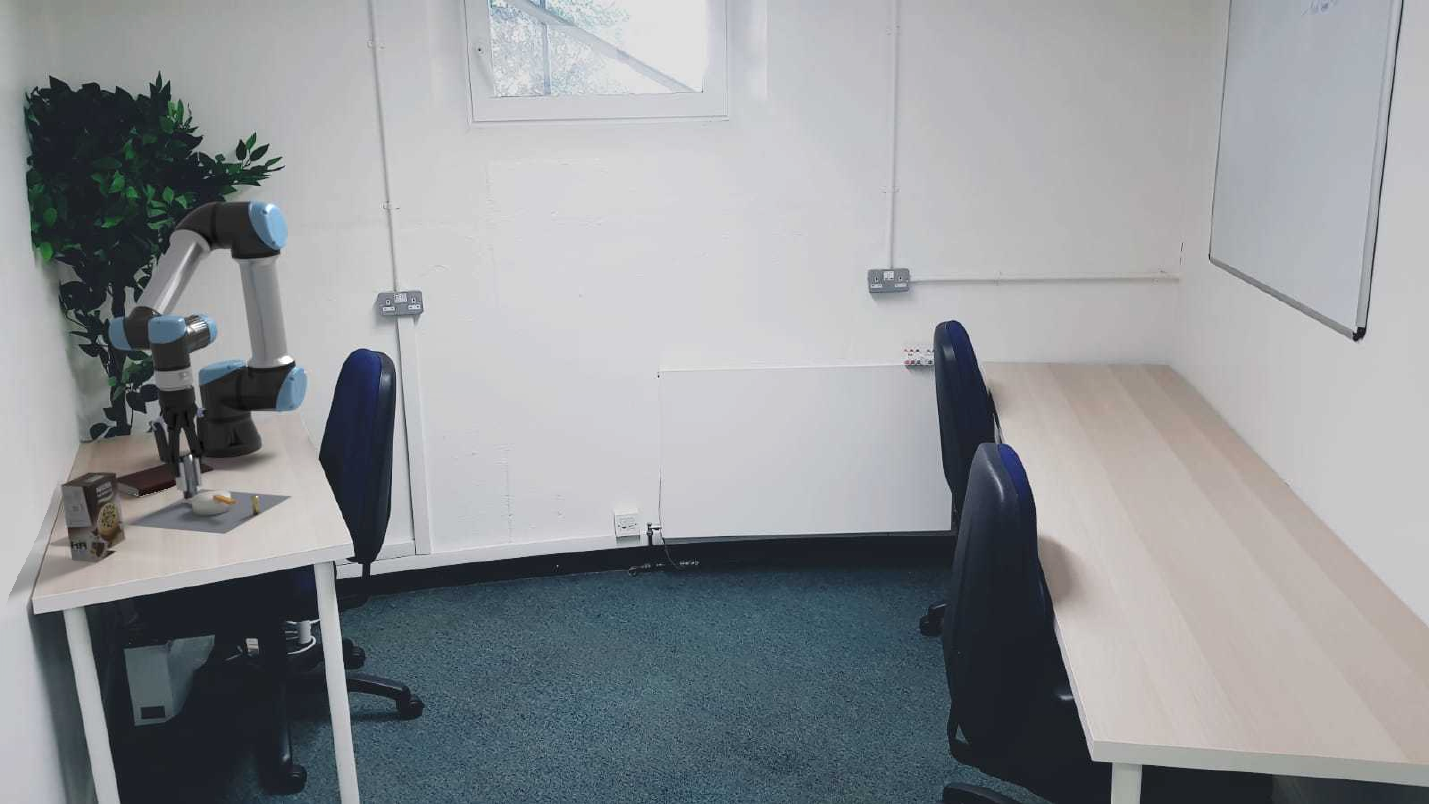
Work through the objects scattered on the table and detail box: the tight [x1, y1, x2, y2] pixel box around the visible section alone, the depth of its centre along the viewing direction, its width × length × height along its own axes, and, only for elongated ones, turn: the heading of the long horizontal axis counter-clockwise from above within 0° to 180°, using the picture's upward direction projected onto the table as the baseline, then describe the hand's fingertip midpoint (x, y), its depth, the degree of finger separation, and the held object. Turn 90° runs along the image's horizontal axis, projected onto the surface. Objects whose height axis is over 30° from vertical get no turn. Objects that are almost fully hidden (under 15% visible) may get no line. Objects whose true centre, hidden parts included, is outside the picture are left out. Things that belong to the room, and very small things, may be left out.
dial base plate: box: [128, 488, 292, 534], centre depth 267 cm, size 24×24×6 cm
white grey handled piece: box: [179, 452, 236, 516], centre depth 266 cm, size 20×8×11 cm, turn 51°
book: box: [116, 462, 214, 498], centre depth 291 cm, size 12×19×3 cm, turn 145°
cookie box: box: [60, 471, 126, 563], centre depth 245 cm, size 9×6×16 cm
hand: (189, 487), depth 271 cm, fingers open, 3 cm apart
